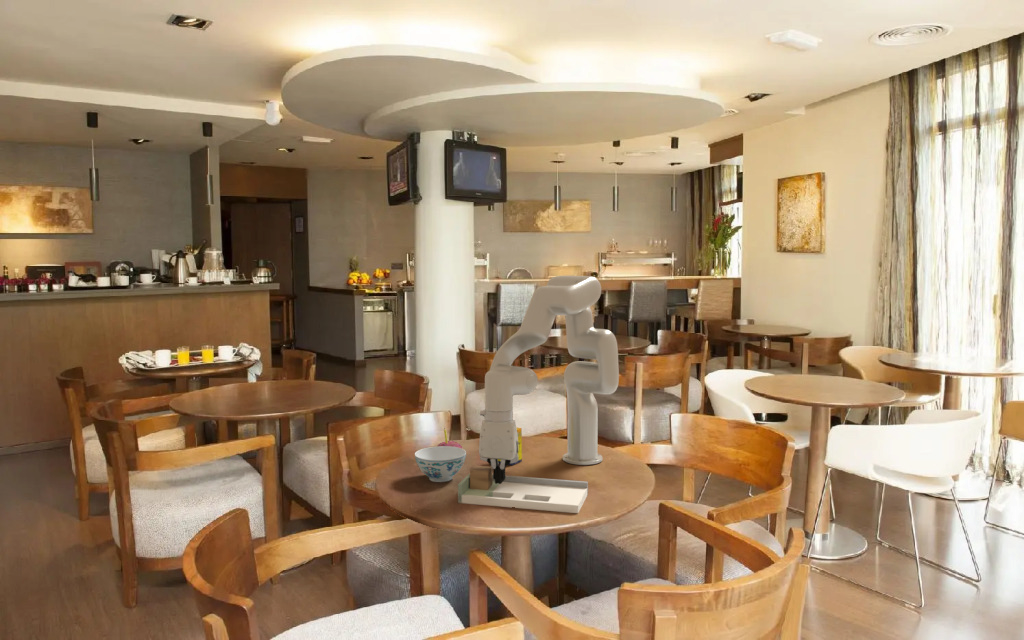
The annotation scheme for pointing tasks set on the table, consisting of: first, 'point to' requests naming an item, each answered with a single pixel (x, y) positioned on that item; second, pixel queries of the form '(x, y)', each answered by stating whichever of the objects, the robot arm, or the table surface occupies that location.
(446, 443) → the cupcake
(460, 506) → the table surface
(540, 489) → the trap board
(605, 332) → the robot arm
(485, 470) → the walnut block
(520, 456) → the supplement box
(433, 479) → the chinaware
